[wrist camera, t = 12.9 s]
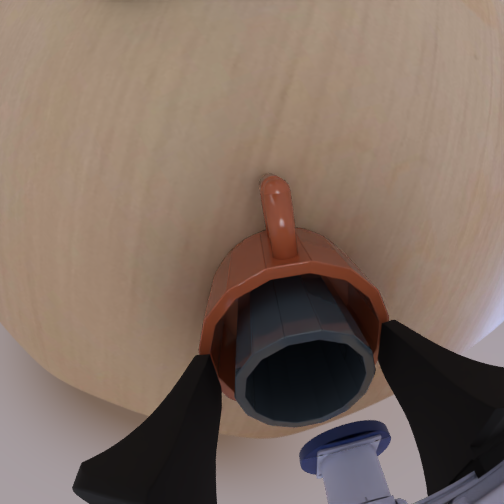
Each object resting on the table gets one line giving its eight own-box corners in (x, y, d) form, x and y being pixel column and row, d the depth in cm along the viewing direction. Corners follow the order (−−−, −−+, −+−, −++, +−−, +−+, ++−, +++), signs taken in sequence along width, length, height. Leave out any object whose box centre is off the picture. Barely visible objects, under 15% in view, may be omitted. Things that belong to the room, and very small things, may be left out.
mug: (351, 338, 17) (378, 391, 12) (228, 360, 17) (224, 419, 12) (344, 162, 13) (390, 167, 9) (185, 186, 14) (154, 203, 9)
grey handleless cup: (332, 330, 16) (368, 410, 10) (245, 345, 16) (247, 434, 10) (329, 249, 14) (383, 315, 8) (228, 266, 14) (217, 345, 8)
